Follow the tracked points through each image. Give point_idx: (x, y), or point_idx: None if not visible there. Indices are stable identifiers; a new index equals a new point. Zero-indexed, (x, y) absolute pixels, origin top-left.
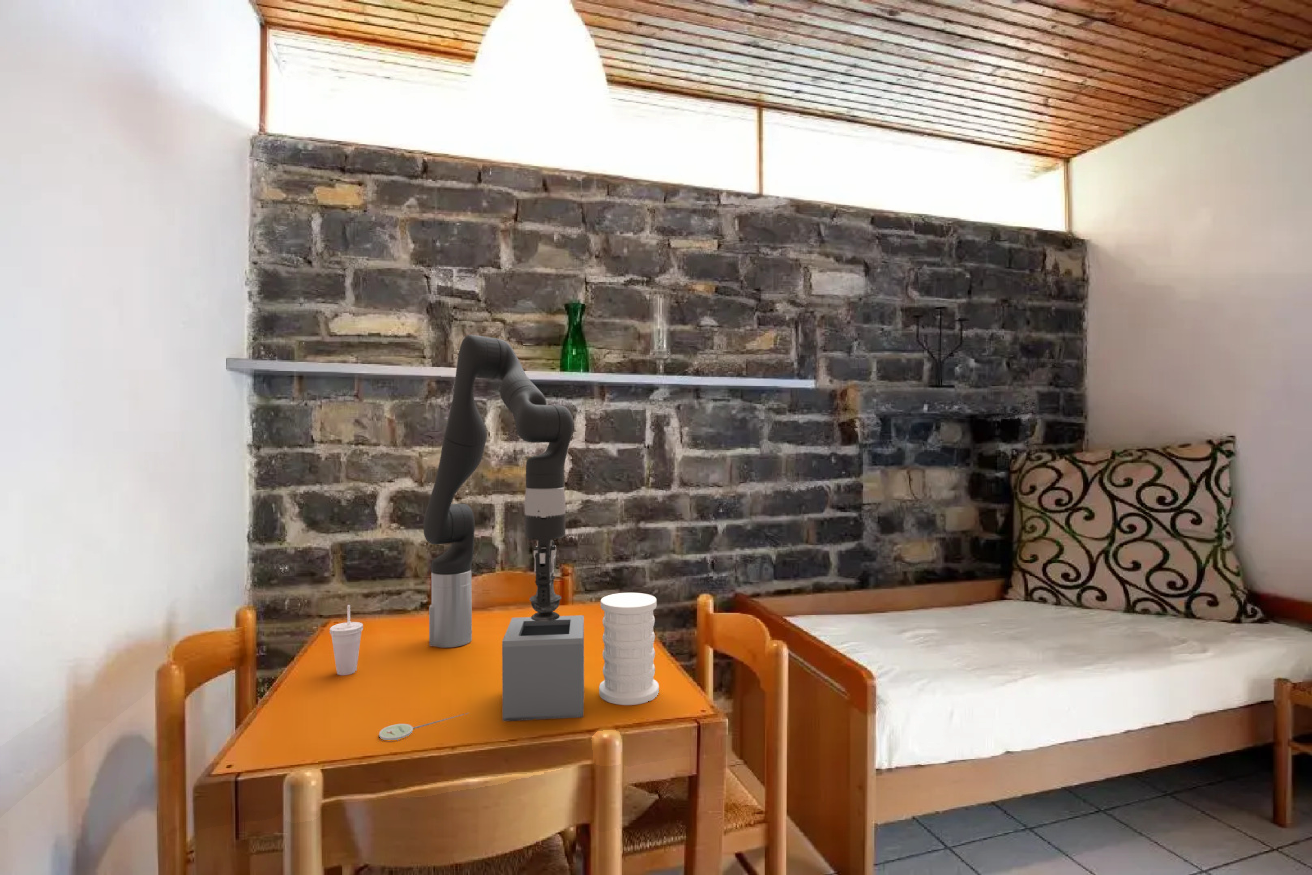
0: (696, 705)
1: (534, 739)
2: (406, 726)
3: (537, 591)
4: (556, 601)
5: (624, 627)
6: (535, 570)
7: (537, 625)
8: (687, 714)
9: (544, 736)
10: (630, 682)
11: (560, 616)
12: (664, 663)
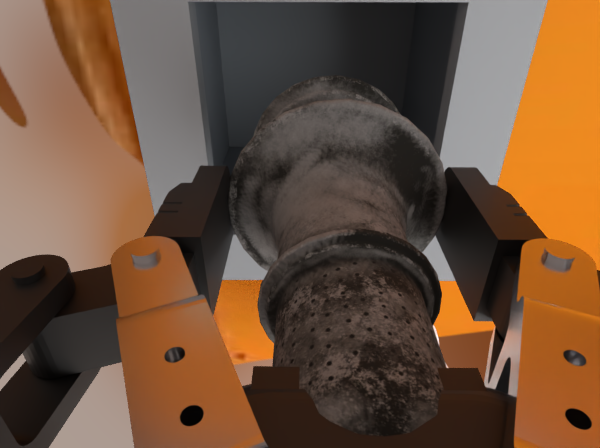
0: (263, 350)
1: (93, 41)
2: None
3: (312, 186)
4: (269, 266)
5: None
6: (119, 332)
7: (446, 78)
8: (226, 334)
9: (112, 67)
10: None
11: None
12: (489, 327)
